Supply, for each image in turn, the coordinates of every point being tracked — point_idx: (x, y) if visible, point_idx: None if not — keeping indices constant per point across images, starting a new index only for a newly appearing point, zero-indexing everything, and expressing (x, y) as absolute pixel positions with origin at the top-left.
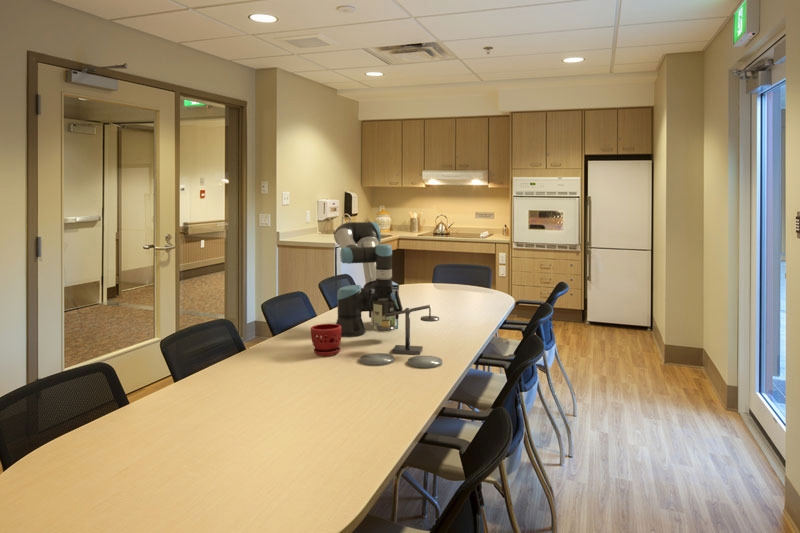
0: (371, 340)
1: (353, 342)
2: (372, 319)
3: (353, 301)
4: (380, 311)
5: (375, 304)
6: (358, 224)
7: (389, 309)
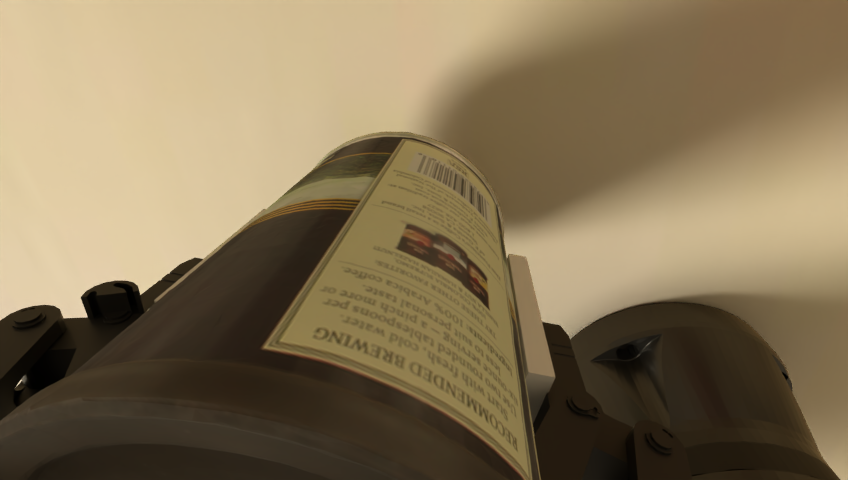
0: (508, 205)
1: (667, 142)
2: (518, 291)
3: None
4: (369, 249)
5: (484, 430)
6: None
7: (173, 290)
